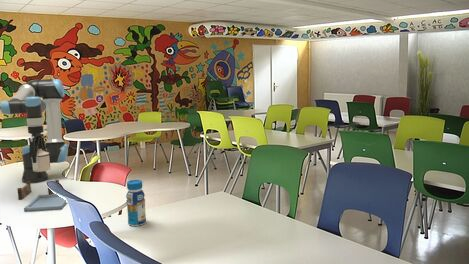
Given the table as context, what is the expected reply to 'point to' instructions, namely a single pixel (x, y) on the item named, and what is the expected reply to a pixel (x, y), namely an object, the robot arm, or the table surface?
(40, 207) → the tray
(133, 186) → the beverage bottle
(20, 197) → the walnut rack
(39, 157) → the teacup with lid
